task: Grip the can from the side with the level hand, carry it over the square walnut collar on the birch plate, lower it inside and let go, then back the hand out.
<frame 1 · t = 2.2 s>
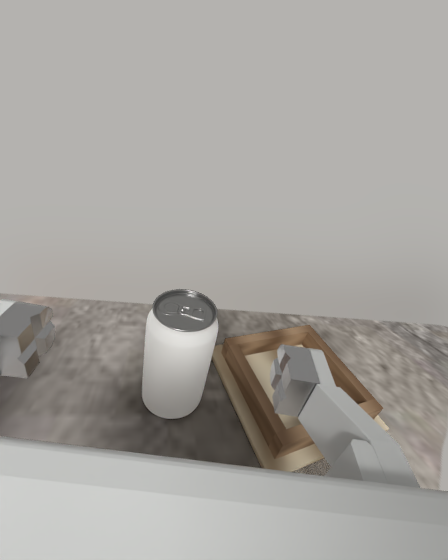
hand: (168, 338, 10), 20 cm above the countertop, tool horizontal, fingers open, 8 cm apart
collar: (290, 387, 35), on the countertop
can: (171, 394, 31), on the countertop
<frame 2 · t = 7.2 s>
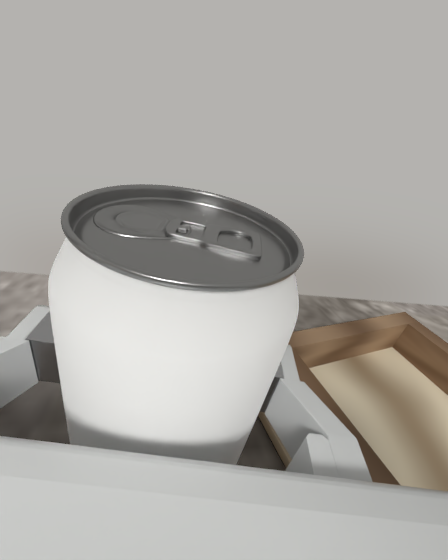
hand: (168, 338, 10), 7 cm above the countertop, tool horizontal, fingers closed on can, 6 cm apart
collar: (403, 436, 17), on the countertop
can: (156, 466, 13), on the countertop, touching gripper
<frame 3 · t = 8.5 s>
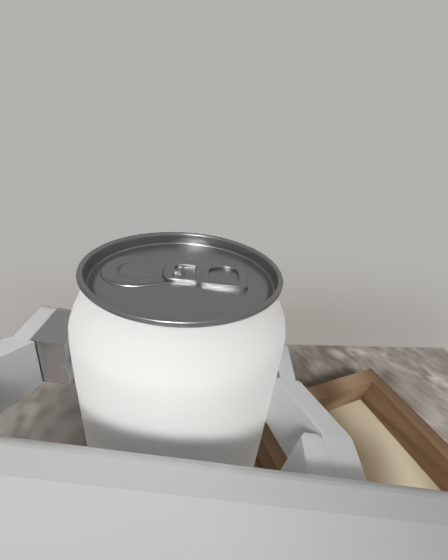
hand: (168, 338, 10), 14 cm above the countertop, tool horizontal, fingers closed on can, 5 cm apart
collar: (360, 490, 20), on the countertop
can: (175, 493, 14), point 5 cm above the countertop, touching gripper
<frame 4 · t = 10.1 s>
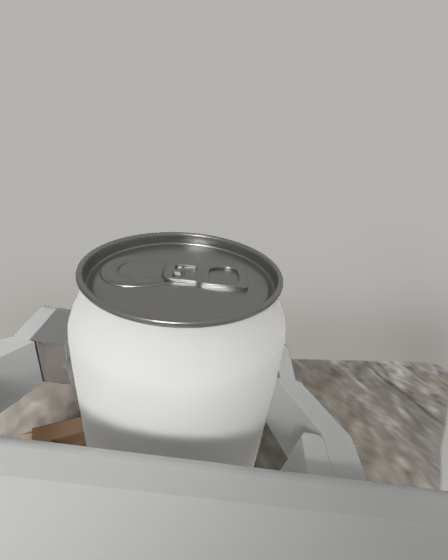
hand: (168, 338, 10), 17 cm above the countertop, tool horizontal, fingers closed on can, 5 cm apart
collar: (148, 517, 19), on the countertop
can: (175, 494, 14), point 8 cm above the countertop, touching gripper
when the fingers open (9 cm above the countertop, at t = 12.5 s): can stays where it is, resting on collar.
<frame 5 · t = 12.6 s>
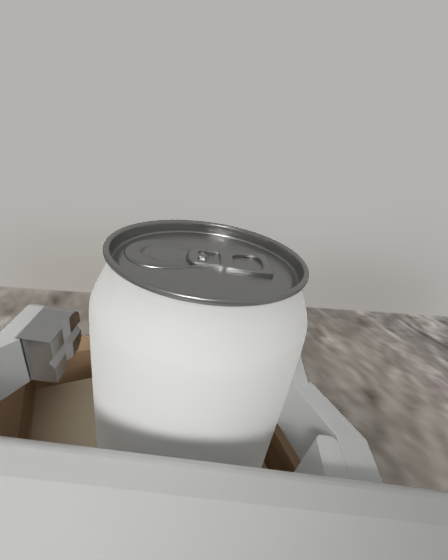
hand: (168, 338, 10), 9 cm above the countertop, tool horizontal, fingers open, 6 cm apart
collar: (151, 458, 15), on the countertop
can: (176, 490, 13), point 1 cm above the countertop, touching collar, gripper
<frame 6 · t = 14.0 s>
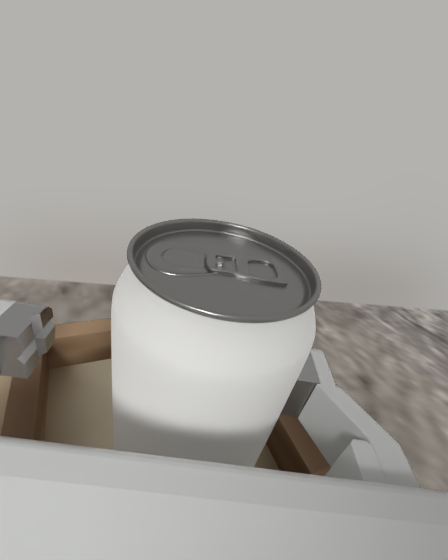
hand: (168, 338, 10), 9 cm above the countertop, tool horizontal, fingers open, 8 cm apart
collar: (158, 432, 16), on the countertop
can: (180, 462, 15), resting on collar
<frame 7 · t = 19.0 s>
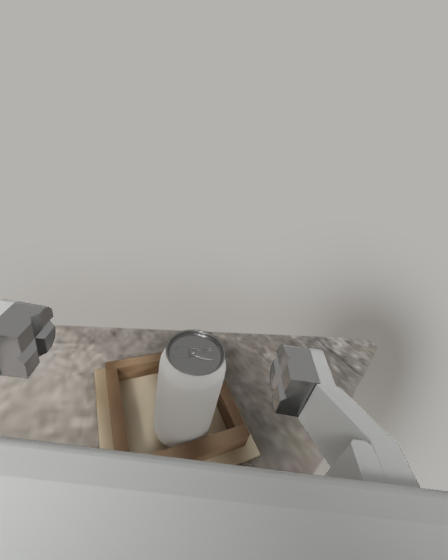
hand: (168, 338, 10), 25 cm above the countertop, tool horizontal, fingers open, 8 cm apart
collar: (170, 411, 35), on the countertop
can: (181, 424, 33), resting on collar
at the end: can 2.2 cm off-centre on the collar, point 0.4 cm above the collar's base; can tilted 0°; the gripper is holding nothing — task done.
